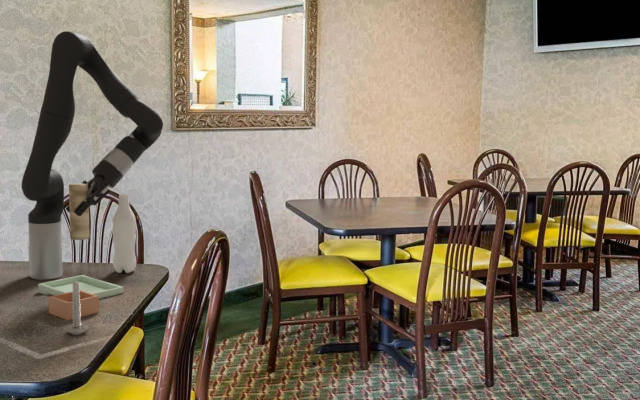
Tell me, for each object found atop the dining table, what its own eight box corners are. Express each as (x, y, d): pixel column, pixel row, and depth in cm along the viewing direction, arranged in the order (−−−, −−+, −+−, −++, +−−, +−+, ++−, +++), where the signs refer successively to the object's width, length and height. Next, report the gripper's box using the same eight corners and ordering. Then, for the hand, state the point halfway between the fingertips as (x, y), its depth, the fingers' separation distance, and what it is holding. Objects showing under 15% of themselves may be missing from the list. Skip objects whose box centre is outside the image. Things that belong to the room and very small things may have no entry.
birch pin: (66, 238, 176) (65, 184, 174) (82, 235, 180) (81, 183, 178) (77, 240, 173) (75, 186, 171) (93, 238, 177) (91, 184, 175)
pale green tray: (38, 292, 179) (38, 283, 179) (82, 283, 190) (82, 274, 190) (78, 306, 167) (78, 297, 167) (123, 295, 178) (123, 286, 178)
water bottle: (129, 275, 201) (128, 196, 198) (108, 273, 203) (107, 195, 199) (140, 269, 208) (139, 194, 205) (120, 268, 210) (119, 193, 206)
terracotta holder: (48, 316, 159) (48, 296, 158) (79, 308, 166) (79, 289, 165) (68, 323, 154) (67, 303, 153) (99, 315, 160) (99, 296, 160)
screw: (86, 339, 143) (63, 340, 142) (89, 332, 148) (67, 333, 147) (85, 283, 141) (62, 283, 140) (88, 277, 146) (66, 278, 145)
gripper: (93, 157, 184) (52, 201, 177) (115, 160, 174) (72, 207, 167) (111, 174, 188) (71, 218, 182) (133, 178, 178) (92, 225, 171)
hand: (72, 212), depth 174 cm, fingers closed on birch pin, 5 cm apart
